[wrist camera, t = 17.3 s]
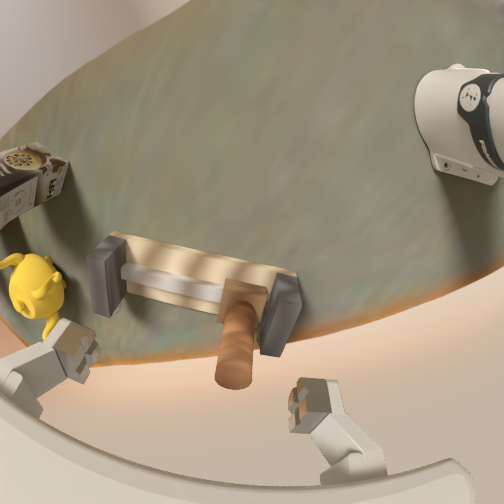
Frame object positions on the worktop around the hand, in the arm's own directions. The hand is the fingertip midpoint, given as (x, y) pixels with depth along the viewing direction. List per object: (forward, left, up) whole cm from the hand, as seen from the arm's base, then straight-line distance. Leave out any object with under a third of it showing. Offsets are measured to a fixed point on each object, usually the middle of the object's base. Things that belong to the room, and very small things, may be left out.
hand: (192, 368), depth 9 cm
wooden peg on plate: (-3, +16, -27) cm, 32 cm away
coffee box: (+33, +2, -29) cm, 44 cm away
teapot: (+35, +24, -29) cm, 52 cm away
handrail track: (+4, +16, -29) cm, 33 cm away
